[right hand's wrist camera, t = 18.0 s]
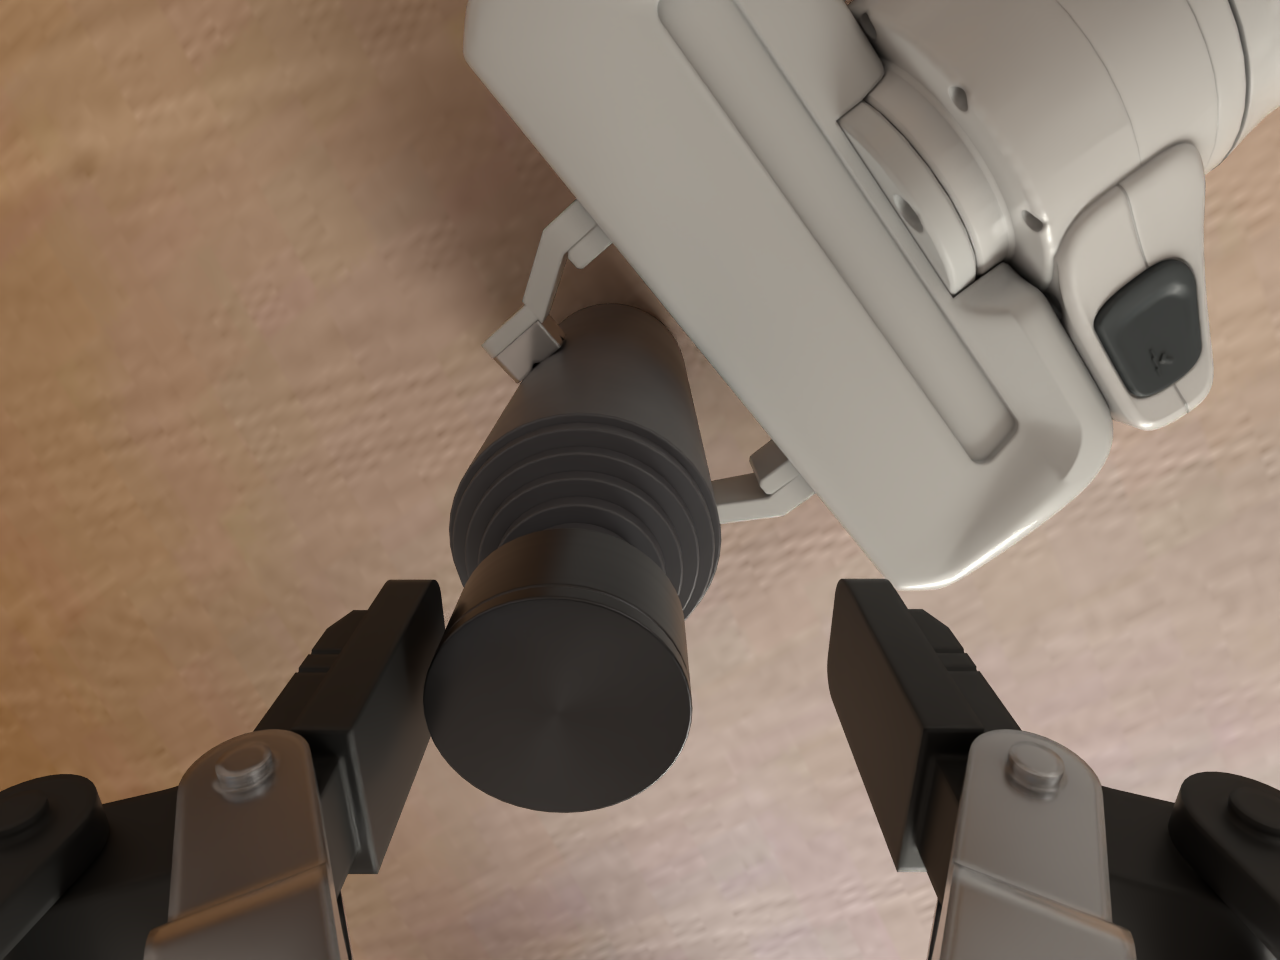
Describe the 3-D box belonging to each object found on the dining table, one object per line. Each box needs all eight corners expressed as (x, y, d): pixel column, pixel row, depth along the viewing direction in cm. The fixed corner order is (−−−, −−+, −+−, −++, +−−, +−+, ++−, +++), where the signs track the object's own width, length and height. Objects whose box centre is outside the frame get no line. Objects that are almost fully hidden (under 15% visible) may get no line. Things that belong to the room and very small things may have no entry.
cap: (627, 491, 11) (624, 555, 9) (718, 675, 12) (732, 766, 10) (414, 578, 12) (370, 656, 10) (523, 745, 13) (502, 843, 11)
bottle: (707, 414, 28) (804, 766, 11) (577, 468, 29) (484, 869, 12) (650, 278, 26) (662, 452, 9) (512, 340, 27) (292, 605, 10)
